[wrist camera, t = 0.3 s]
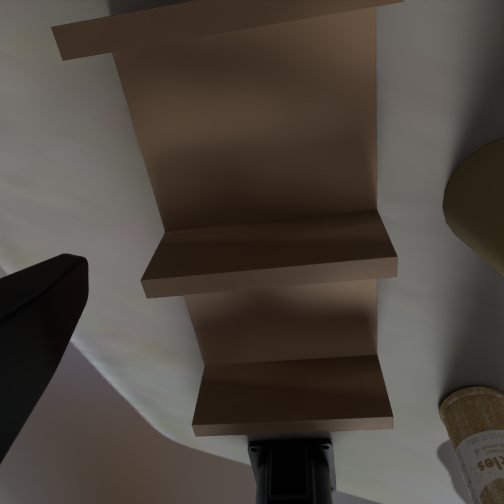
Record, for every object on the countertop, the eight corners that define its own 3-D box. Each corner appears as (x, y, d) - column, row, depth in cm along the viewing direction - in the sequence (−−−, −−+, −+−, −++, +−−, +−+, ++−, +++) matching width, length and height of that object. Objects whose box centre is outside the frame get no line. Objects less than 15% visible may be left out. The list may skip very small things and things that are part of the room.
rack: (374, 354, 27) (393, 428, 23) (210, 364, 29) (195, 436, 24) (371, -29, 17) (405, -39, 12) (111, 19, 18) (51, 26, 13)
